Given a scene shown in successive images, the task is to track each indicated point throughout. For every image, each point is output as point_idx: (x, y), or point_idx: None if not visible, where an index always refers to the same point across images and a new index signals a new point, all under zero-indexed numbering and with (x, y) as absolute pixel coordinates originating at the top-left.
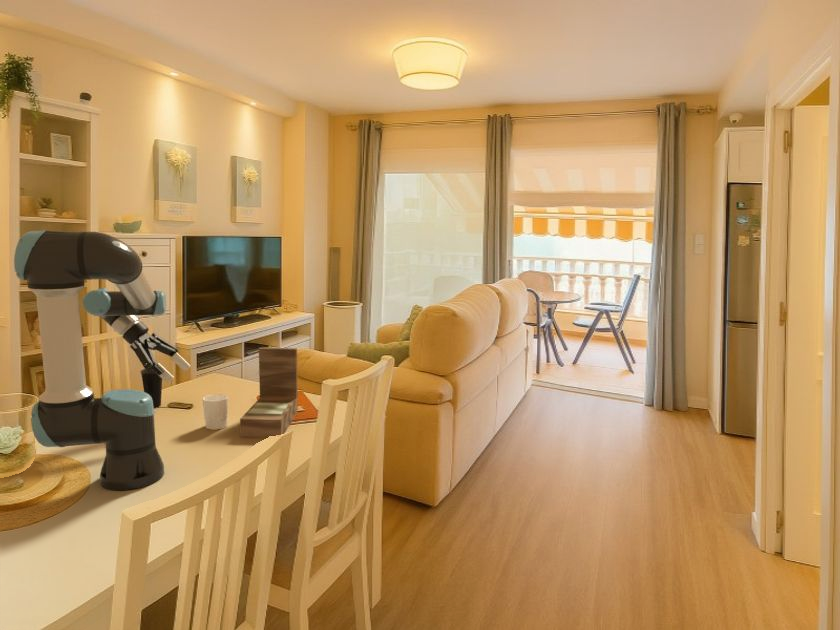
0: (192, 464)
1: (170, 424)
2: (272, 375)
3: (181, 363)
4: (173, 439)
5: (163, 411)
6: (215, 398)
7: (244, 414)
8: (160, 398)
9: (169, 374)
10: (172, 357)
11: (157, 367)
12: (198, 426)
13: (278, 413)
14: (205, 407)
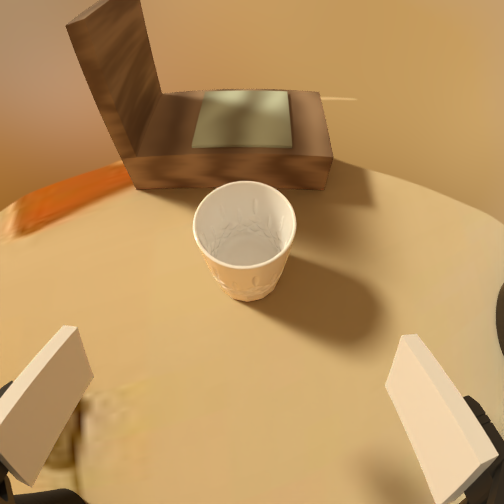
0: (470, 244)
1: (234, 424)
2: (128, 76)
3: (57, 394)
4: (366, 355)
5: (110, 476)
6: (201, 242)
7: (293, 154)
8: (55, 493)
9: (433, 356)
10: (25, 471)
11: (494, 437)
12: (250, 326)
13: (284, 95)
14: (284, 260)
